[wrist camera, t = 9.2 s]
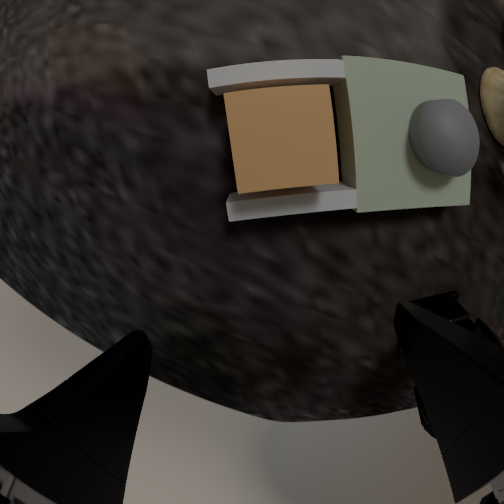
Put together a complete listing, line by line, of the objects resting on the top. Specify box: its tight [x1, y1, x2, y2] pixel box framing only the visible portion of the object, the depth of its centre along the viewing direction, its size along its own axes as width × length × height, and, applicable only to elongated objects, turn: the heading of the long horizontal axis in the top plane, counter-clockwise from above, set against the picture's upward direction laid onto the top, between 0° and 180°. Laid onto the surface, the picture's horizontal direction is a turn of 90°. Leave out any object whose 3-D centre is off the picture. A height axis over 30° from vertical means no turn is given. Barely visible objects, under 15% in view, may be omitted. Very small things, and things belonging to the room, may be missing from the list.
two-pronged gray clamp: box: [207, 56, 479, 222], centre depth 15 cm, size 18×10×5 cm, turn 97°
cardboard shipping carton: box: [224, 84, 339, 194], centre depth 15 cm, size 5×5×6 cm
